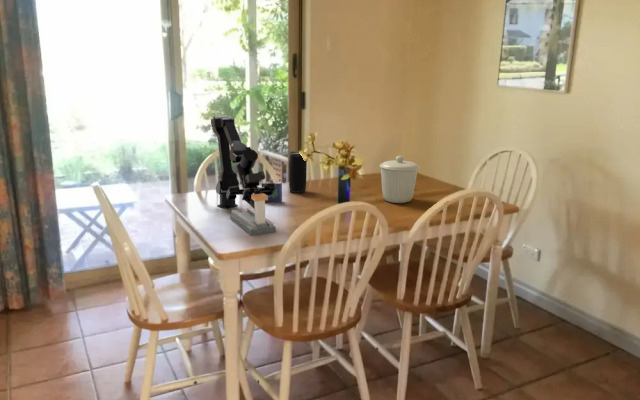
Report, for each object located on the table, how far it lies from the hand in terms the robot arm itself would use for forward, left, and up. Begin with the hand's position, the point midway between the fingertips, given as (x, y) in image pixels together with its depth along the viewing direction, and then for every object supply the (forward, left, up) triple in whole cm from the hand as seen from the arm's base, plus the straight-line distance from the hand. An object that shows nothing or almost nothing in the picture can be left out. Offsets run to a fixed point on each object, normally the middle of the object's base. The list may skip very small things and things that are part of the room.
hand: (257, 210), depth 205 cm
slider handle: (+2, -1, -5) cm, 6 cm away
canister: (+20, +72, -8) cm, 75 cm away
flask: (-23, +33, -8) cm, 41 cm away
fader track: (-5, +3, -8) cm, 10 cm away
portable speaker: (-26, +55, -8) cm, 61 cm away
